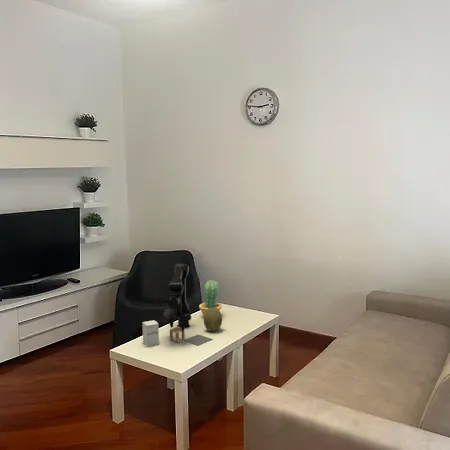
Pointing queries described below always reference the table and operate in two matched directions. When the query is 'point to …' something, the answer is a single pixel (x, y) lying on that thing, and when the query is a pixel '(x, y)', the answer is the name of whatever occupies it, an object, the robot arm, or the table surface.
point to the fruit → (212, 319)
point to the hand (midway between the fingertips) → (177, 329)
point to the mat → (198, 340)
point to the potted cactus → (210, 296)
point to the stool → (176, 334)
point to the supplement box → (150, 333)
